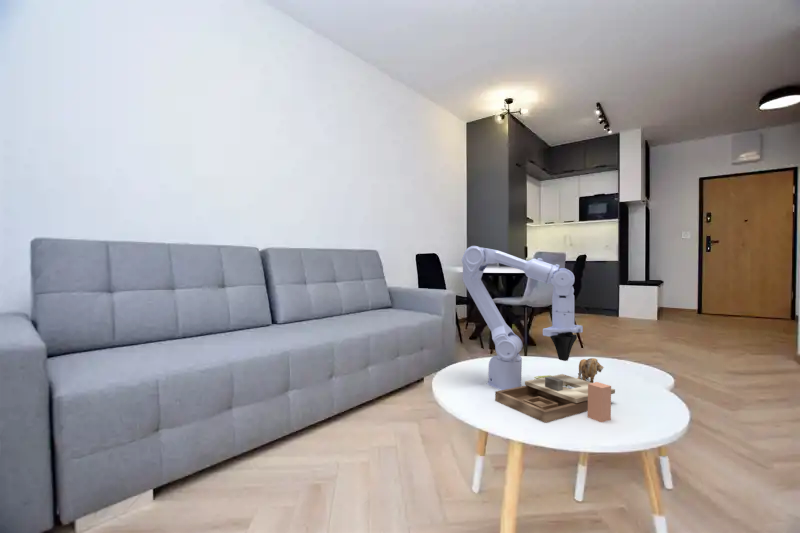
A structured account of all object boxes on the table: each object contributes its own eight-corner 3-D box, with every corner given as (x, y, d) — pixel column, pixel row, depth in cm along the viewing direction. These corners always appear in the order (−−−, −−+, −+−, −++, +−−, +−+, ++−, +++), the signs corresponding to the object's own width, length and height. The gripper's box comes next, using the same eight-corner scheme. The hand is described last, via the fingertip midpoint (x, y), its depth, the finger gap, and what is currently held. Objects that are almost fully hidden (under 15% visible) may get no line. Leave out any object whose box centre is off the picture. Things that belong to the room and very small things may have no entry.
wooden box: (495, 402, 99) (495, 391, 99) (536, 393, 107) (536, 383, 107) (545, 425, 86) (545, 412, 86) (588, 413, 93) (588, 401, 93)
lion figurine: (605, 390, 112) (605, 360, 112) (586, 389, 112) (586, 359, 112) (586, 376, 126) (586, 349, 126) (569, 375, 127) (569, 349, 127)
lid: (524, 384, 105) (524, 372, 105) (562, 377, 113) (562, 365, 113) (576, 403, 91) (576, 388, 91) (614, 393, 99) (615, 380, 99)
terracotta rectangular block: (587, 419, 89) (588, 383, 90) (596, 416, 91) (597, 381, 91) (601, 425, 86) (602, 388, 86) (610, 422, 88) (611, 386, 88)
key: (567, 390, 112) (567, 383, 112) (530, 380, 122) (530, 373, 122) (578, 386, 117) (579, 379, 117) (542, 376, 126) (542, 370, 126)
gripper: (558, 314, 98) (558, 366, 98) (592, 311, 105) (592, 359, 105) (536, 311, 104) (536, 360, 104) (570, 309, 111) (570, 355, 111)
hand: (563, 360), depth 105 cm, fingers closed
